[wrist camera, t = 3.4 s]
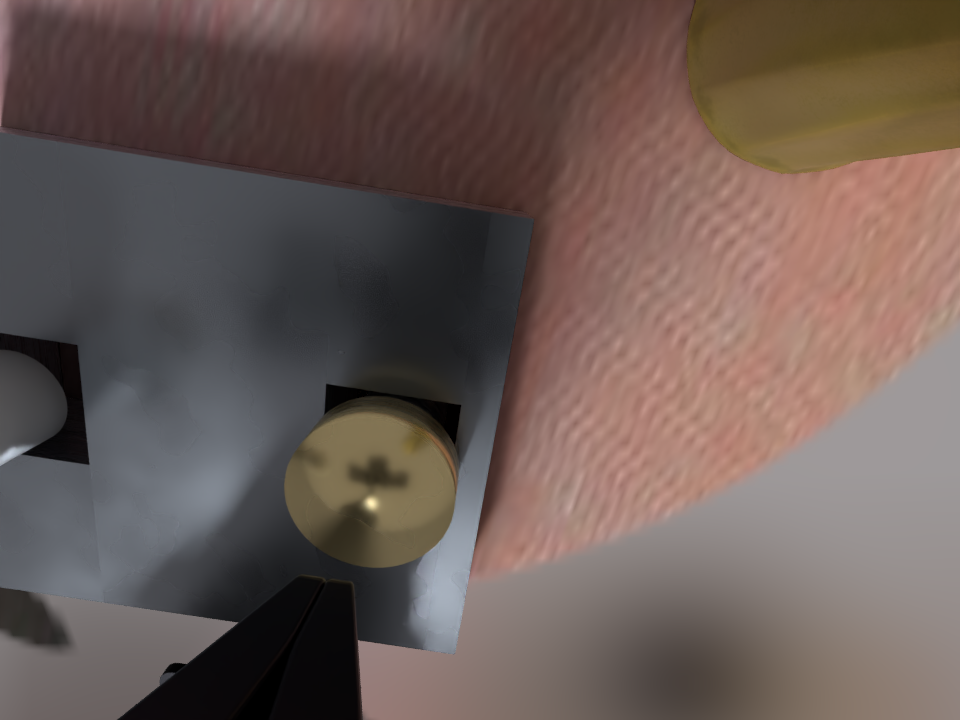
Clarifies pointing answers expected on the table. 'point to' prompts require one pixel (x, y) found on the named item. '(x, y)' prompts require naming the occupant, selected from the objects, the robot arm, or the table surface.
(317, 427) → the knob brass
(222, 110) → the table surface
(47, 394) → the knob ivory
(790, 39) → the vase
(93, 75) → the table surface
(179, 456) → the mount
